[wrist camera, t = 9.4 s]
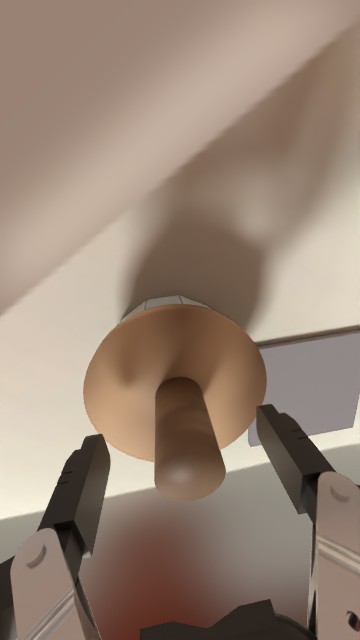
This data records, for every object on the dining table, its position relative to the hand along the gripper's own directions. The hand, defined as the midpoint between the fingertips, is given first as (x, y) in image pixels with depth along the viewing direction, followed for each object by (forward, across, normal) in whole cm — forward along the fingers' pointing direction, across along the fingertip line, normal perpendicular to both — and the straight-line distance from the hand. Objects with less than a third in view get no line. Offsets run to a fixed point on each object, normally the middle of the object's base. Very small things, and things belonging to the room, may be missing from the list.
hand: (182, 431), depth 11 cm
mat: (+9, -13, +7) cm, 17 cm away
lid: (+5, 0, 0) cm, 5 cm away
